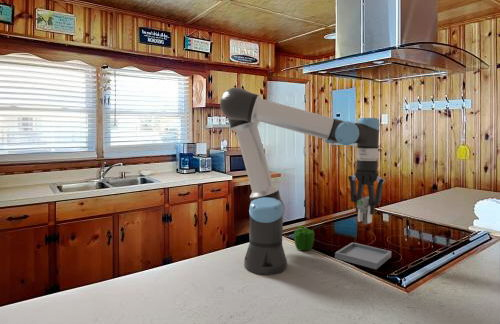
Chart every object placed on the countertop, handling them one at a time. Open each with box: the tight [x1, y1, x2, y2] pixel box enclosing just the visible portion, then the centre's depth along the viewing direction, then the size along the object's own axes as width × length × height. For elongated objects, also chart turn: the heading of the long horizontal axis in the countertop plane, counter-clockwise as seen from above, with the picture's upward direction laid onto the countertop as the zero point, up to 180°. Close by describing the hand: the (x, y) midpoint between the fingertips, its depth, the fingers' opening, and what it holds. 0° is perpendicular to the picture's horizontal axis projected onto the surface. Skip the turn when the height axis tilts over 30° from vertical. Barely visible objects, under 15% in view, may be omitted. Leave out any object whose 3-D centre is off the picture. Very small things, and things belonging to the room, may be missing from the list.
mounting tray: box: [334, 242, 392, 270], centre depth 125 cm, size 16×16×2 cm
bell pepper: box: [293, 224, 315, 251], centre depth 134 cm, size 8×8×10 cm
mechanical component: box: [357, 195, 370, 226], centre depth 124 cm, size 3×10×10 cm, turn 138°
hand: (364, 221), depth 124 cm, fingers closed on mechanical component, 3 cm apart
